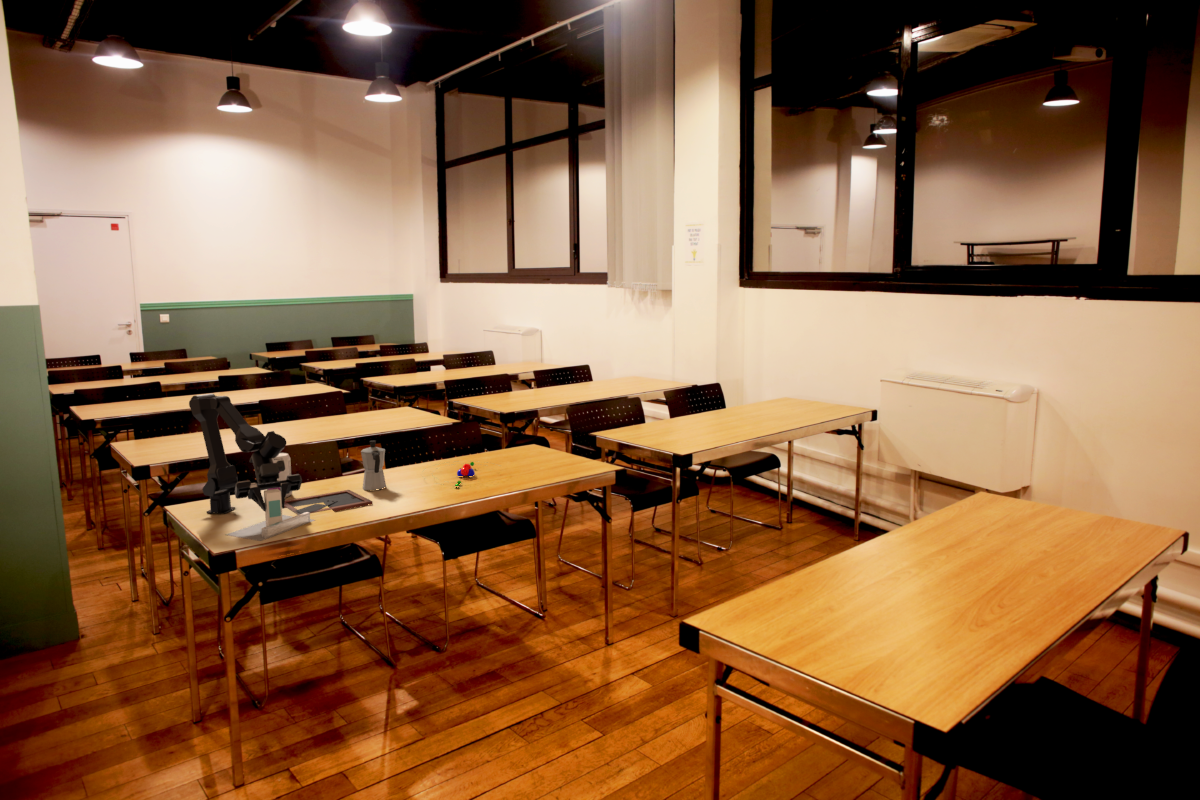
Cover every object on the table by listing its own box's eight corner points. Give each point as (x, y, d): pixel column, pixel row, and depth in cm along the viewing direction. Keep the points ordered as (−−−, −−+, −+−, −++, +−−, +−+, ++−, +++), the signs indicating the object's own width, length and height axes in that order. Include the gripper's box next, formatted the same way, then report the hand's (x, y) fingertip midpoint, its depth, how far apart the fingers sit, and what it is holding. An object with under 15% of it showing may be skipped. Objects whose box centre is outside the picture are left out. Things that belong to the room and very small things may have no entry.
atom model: (502, 493, 283) (502, 479, 282) (410, 489, 283) (410, 474, 282) (514, 467, 317) (514, 454, 316) (433, 463, 317) (433, 450, 316)
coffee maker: (359, 485, 286) (357, 438, 284) (382, 482, 290) (381, 436, 288) (366, 494, 273) (364, 446, 271) (391, 492, 277) (389, 443, 275)
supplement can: (283, 499, 267) (281, 457, 265) (262, 498, 268) (260, 456, 266) (297, 493, 275) (294, 453, 272) (276, 492, 276) (274, 451, 274)
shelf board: (225, 537, 226) (225, 534, 225) (282, 517, 246) (282, 514, 246) (260, 544, 220) (260, 540, 220) (315, 523, 240) (315, 520, 240)
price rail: (261, 538, 223) (261, 528, 222) (307, 521, 239) (306, 511, 239) (265, 538, 222) (264, 528, 222) (310, 521, 238) (310, 512, 238)
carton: (266, 527, 233) (263, 490, 231) (279, 524, 235) (277, 488, 234) (269, 530, 230) (266, 493, 228) (283, 528, 232) (280, 491, 230)
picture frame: (299, 520, 245) (372, 506, 262) (298, 514, 245) (372, 500, 261) (278, 506, 260) (349, 494, 277) (278, 500, 260) (348, 488, 276)
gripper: (233, 456, 227) (243, 500, 220) (299, 448, 238) (310, 490, 230) (230, 476, 234) (239, 519, 227) (294, 468, 245) (304, 509, 238)
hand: (274, 509), depth 230 cm, fingers open, 5 cm apart
